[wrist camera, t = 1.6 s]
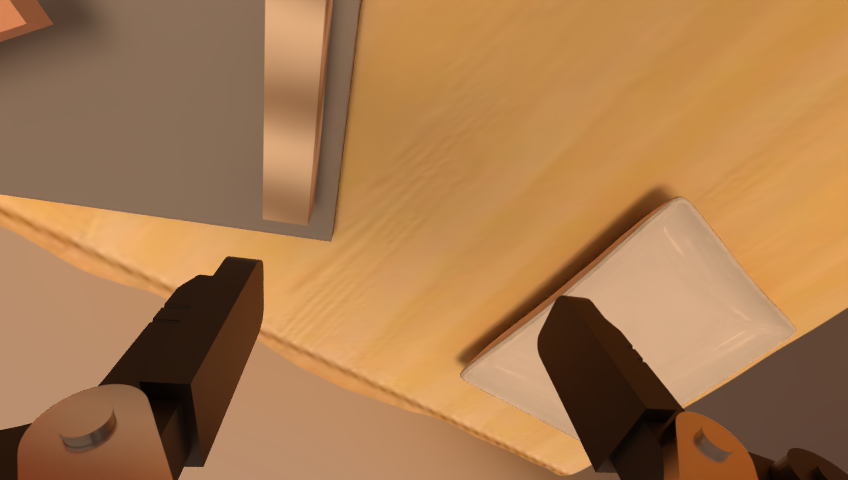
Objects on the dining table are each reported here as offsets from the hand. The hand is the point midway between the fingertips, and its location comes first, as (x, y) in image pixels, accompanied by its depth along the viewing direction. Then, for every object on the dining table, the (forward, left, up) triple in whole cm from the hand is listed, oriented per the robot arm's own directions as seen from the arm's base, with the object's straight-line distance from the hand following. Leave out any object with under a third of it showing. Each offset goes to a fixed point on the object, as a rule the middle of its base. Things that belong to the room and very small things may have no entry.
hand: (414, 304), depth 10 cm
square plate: (+18, +29, -21) cm, 40 cm away
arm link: (-3, -7, -18) cm, 20 cm away
